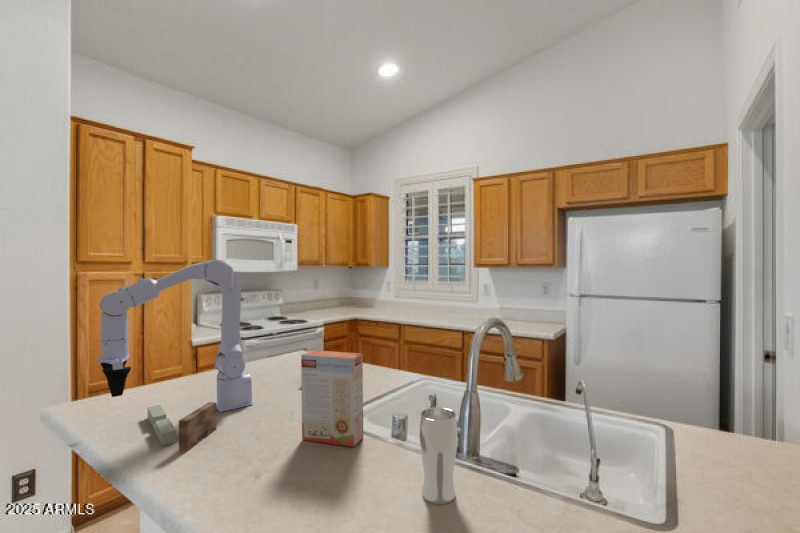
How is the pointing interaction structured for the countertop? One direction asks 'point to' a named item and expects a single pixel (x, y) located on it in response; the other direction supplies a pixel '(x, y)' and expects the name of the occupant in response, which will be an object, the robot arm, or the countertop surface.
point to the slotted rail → (161, 425)
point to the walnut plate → (197, 425)
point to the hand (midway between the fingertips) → (115, 392)
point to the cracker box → (332, 397)
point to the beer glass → (438, 453)
